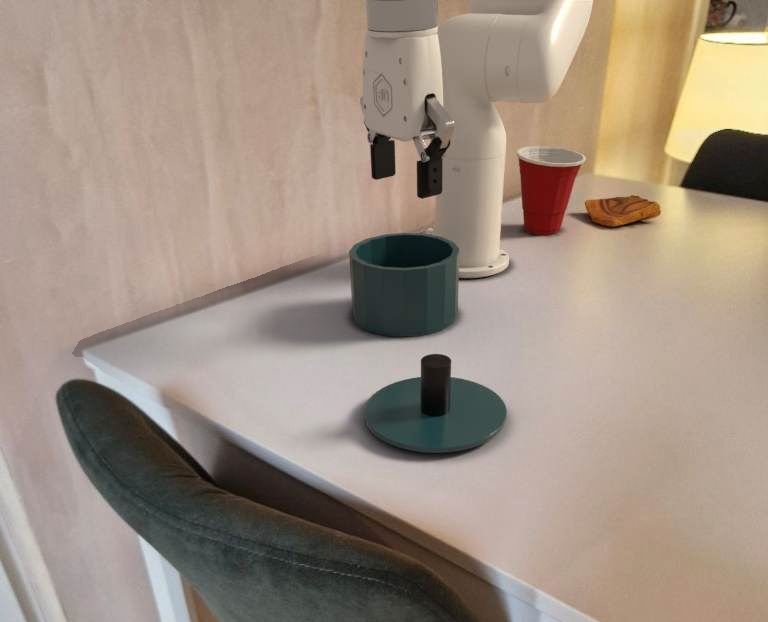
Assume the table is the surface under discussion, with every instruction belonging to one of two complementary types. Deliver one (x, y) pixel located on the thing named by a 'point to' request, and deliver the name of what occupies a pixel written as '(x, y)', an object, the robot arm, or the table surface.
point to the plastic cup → (546, 186)
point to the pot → (404, 284)
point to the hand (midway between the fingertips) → (405, 186)
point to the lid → (435, 411)
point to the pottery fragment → (621, 210)
